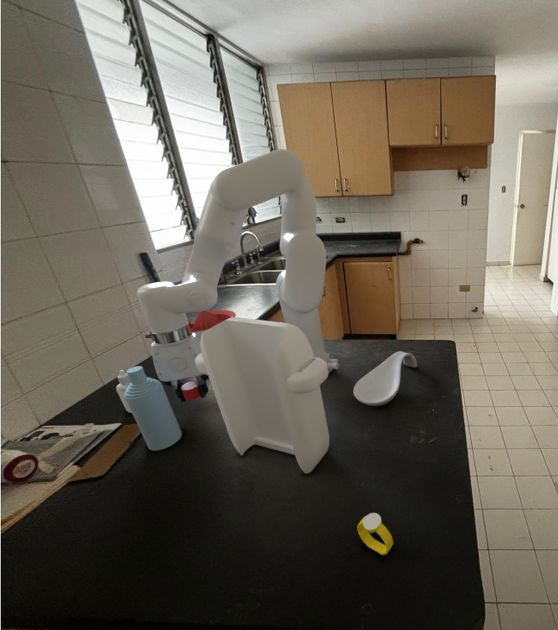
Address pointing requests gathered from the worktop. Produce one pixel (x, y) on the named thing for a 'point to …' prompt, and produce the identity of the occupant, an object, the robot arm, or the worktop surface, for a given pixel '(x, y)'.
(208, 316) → the citrus juicer
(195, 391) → the cap
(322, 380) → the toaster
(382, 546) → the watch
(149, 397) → the water bottle
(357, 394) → the spoon rest
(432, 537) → the worktop surface
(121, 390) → the eye dropper bottle
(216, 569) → the worktop surface
